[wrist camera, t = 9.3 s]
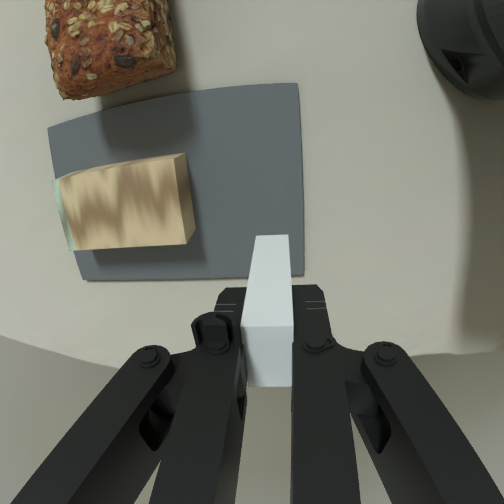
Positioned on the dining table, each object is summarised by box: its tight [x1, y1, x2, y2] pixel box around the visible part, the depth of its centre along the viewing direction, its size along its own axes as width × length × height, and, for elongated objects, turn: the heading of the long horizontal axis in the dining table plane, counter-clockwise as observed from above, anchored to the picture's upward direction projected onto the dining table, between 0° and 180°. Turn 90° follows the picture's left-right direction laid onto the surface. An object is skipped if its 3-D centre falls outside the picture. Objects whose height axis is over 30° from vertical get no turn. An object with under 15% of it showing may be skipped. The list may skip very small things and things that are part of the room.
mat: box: [48, 83, 304, 280], centre depth 31 cm, size 20×28×1 cm
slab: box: [52, 153, 196, 251], centre depth 29 cm, size 8×4×14 cm
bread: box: [45, 0, 177, 100], centre depth 18 cm, size 19×11×10 cm, turn 8°
